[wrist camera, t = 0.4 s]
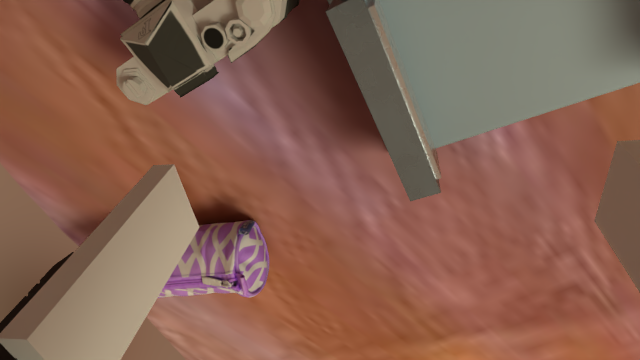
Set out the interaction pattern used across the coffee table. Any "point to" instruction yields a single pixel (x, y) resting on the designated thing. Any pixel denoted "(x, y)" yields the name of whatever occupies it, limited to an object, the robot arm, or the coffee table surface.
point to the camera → (190, 41)
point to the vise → (511, 57)
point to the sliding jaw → (387, 92)
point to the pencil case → (221, 262)
